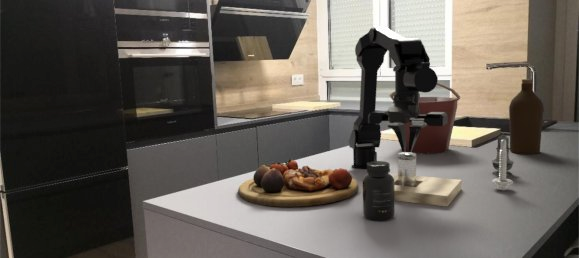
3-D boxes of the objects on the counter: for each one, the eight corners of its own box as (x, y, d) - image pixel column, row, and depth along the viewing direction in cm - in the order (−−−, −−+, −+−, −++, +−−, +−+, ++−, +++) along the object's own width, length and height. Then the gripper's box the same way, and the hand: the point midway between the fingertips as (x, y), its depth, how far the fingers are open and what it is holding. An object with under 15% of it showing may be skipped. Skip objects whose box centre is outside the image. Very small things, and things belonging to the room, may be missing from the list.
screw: (517, 190, 123) (502, 192, 122) (501, 185, 128) (487, 188, 126) (518, 139, 122) (504, 141, 120) (503, 136, 126) (488, 138, 124)
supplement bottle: (359, 212, 110) (359, 160, 108) (389, 210, 111) (389, 159, 109) (367, 222, 103) (366, 167, 102) (398, 220, 104) (398, 165, 102)
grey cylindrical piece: (395, 193, 124) (395, 155, 123) (401, 189, 128) (400, 151, 127) (413, 195, 122) (413, 156, 120) (418, 191, 126) (418, 152, 124)
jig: (372, 197, 121) (372, 188, 121) (393, 182, 135) (393, 173, 135) (447, 206, 112) (447, 196, 112) (461, 189, 126) (461, 179, 126)
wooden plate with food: (383, 189, 130) (382, 158, 129) (297, 217, 109) (296, 180, 108) (299, 174, 153) (298, 148, 152) (214, 194, 132) (213, 164, 131)
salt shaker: (515, 176, 137) (517, 134, 135) (493, 176, 138) (494, 134, 136) (510, 171, 142) (511, 130, 141) (489, 171, 144) (490, 131, 142)
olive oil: (521, 155, 163) (524, 80, 160) (501, 150, 173) (503, 79, 170) (549, 153, 165) (552, 79, 162) (527, 148, 176) (529, 78, 172)
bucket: (380, 150, 180) (379, 83, 177) (408, 141, 197) (408, 79, 193) (444, 157, 165) (445, 83, 161) (469, 147, 181) (470, 79, 178)
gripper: (359, 92, 119) (360, 155, 121) (437, 92, 110) (436, 161, 112) (375, 89, 128) (376, 147, 131) (448, 89, 119) (447, 152, 121)
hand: (407, 152), depth 123 cm, fingers closed
